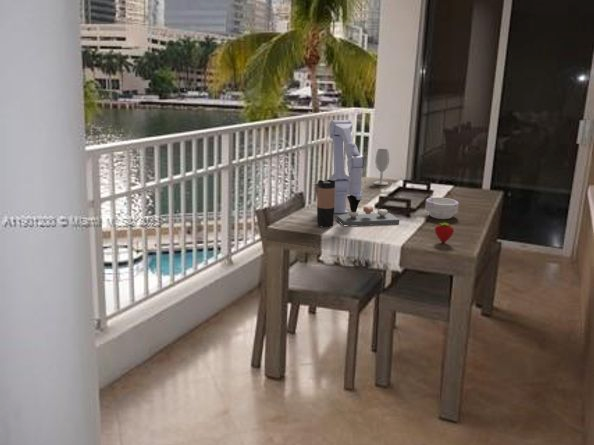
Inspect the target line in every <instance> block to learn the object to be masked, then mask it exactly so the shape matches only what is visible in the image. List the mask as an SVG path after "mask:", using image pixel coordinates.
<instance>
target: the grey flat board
mask: <svg viewBox="0 0 594 445" xmlns="http://www.w3.org/2000/svg"><path fill="white" fill-rule="evenodd" d="M336 220H337V221H338V222H339V221H340V222H341V223H342V224H343V225H363V226H371V225H370V224H385V225H398V224H400V219H399V218H398V217H396V216H395V215H393V214H392V213H390V212H387V215H385V217H381V216H380V215H379V214H378V212H377V213H371V214H366V213H358V216H356V218H351V216H349V214H337V215H336ZM340 222H339V223H340ZM341 223H340V224H341ZM342 224H341V225H342Z"/></svg>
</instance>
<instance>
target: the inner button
mask: <svg viewBox="0 0 594 445" xmlns="http://www.w3.org/2000/svg"><path fill="white" fill-rule="evenodd" d="M348 212H349V213H348V215H349V216H351V218H356V216H358V214H359V211H358V210H357V211H356V212H351V210H348Z"/></svg>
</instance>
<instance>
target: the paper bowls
mask: <svg viewBox="0 0 594 445" xmlns="http://www.w3.org/2000/svg"><path fill="white" fill-rule="evenodd" d="M459 204H460V203H459V201H458V200H456V199H453V198H447V197H434V196H433V197H428V198H426V199H425V207H424V208H425V209H424V210H425V211H426V212H428V214H429V216H430V217H432V218H433V219H438V220H448V219H451V218H452V217H454V215H455V214H457V213H458V212H459Z"/></svg>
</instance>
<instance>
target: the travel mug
mask: <svg viewBox="0 0 594 445" xmlns="http://www.w3.org/2000/svg"><path fill="white" fill-rule="evenodd" d="M316 201H317V203H316V204H317V205H316V210H317V211H316V220H317V221H316V224H317V226H318V225H319V226H322V227H321V228H331V227H330V226H332V227H333V226H334V221H335V220H334V219H335V213H334V205H335V181H333V180H329V179H326V180H323V179H322V180H320V179H319V180H318V181H317V200H316ZM319 226H318V227H319Z"/></svg>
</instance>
